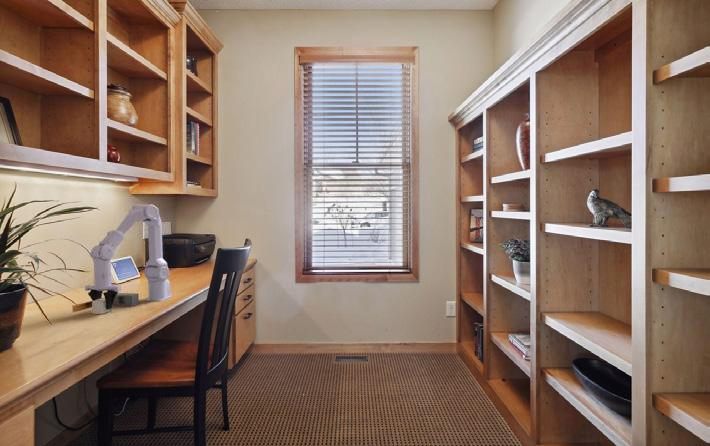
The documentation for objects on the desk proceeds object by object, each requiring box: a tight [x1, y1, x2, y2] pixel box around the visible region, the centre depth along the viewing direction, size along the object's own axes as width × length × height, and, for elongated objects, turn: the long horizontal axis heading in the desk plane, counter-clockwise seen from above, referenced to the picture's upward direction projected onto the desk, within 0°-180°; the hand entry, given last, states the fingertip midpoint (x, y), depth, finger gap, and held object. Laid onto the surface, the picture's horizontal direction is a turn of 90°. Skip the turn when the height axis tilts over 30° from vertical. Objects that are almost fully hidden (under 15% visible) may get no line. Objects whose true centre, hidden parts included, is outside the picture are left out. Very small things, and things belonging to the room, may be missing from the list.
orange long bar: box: [71, 297, 103, 313], centre depth 158 cm, size 12×1×4 cm, turn 165°
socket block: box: [113, 292, 140, 307], centre depth 167 cm, size 11×11×5 cm
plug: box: [91, 297, 114, 315], centre depth 158 cm, size 7×4×5 cm, turn 172°
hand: (103, 308), depth 158 cm, fingers closed on plug, 4 cm apart
